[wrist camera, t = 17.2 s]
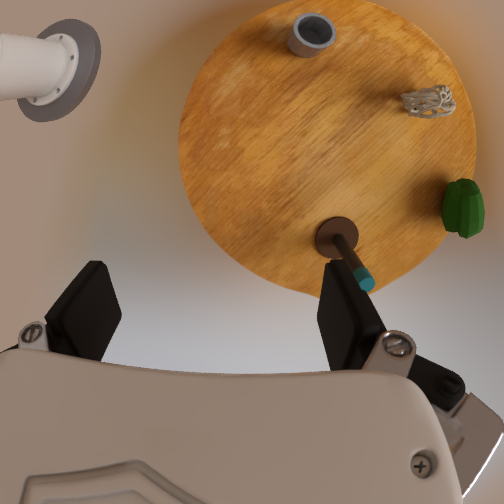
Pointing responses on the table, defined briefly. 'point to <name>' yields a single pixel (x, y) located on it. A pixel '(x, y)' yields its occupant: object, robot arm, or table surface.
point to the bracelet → (429, 102)
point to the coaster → (332, 228)
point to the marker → (354, 263)
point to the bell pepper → (463, 208)
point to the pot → (311, 35)
